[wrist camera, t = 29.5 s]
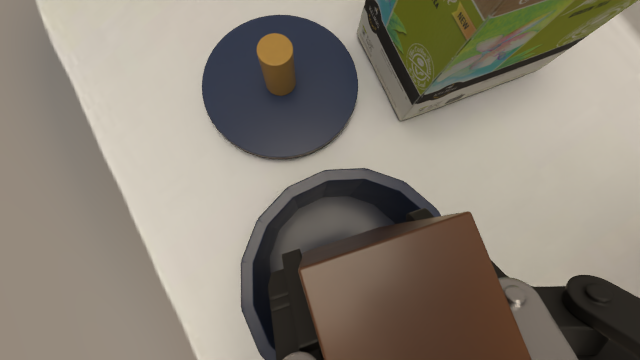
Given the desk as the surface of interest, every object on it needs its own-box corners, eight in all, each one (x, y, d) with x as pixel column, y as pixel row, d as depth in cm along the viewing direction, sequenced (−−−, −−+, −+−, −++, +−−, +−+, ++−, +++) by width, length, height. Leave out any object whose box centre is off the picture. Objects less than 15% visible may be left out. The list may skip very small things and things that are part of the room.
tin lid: (316, 4, 28) (318, -53, 23) (381, 123, 26) (401, 91, 20) (184, 55, 27) (151, 7, 21) (241, 186, 24) (222, 171, 19)
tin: (371, 165, 25) (397, 135, 18) (444, 302, 23) (506, 332, 16) (237, 229, 24) (206, 224, 16) (302, 380, 22) (299, 453, 14)
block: (380, 226, 16) (471, 210, 7) (409, 308, 15) (552, 405, 6) (303, 252, 15) (297, 268, 7) (329, 338, 15) (360, 485, 6)
